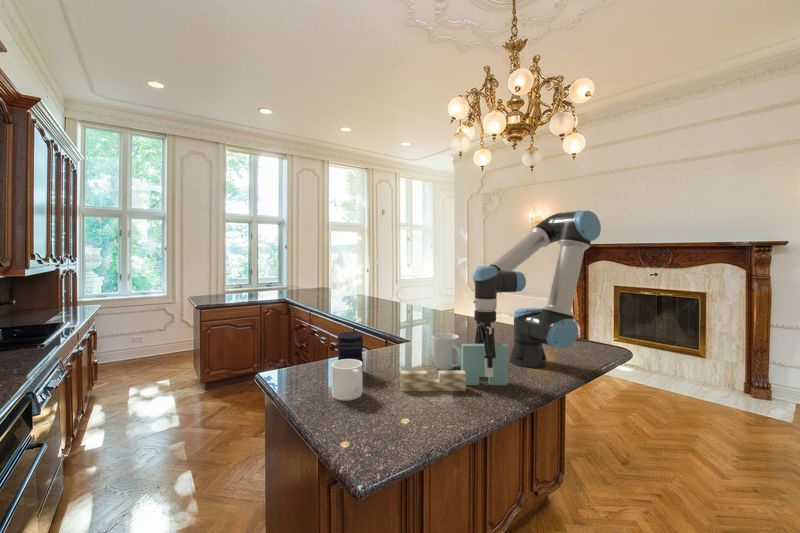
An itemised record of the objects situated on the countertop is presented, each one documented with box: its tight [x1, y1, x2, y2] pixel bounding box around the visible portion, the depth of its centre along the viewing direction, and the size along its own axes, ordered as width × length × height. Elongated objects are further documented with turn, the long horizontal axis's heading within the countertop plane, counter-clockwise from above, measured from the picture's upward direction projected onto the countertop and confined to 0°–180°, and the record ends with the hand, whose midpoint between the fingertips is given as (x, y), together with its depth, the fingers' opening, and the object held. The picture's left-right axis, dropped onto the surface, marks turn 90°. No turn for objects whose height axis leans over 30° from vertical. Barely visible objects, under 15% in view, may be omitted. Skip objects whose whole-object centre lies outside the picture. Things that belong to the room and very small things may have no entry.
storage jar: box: [336, 331, 364, 375], centre depth 136 cm, size 10×10×15 cm
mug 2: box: [430, 332, 461, 371], centre depth 141 cm, size 15×11×13 cm
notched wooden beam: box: [399, 369, 467, 392], centre depth 121 cm, size 22×3×6 cm, turn 91°
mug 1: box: [331, 359, 363, 402], centre depth 115 cm, size 13×10×10 cm
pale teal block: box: [460, 343, 509, 386], centre depth 126 cm, size 16×3×14 cm, turn 91°
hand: (484, 370), depth 126 cm, fingers open, 12 cm apart
